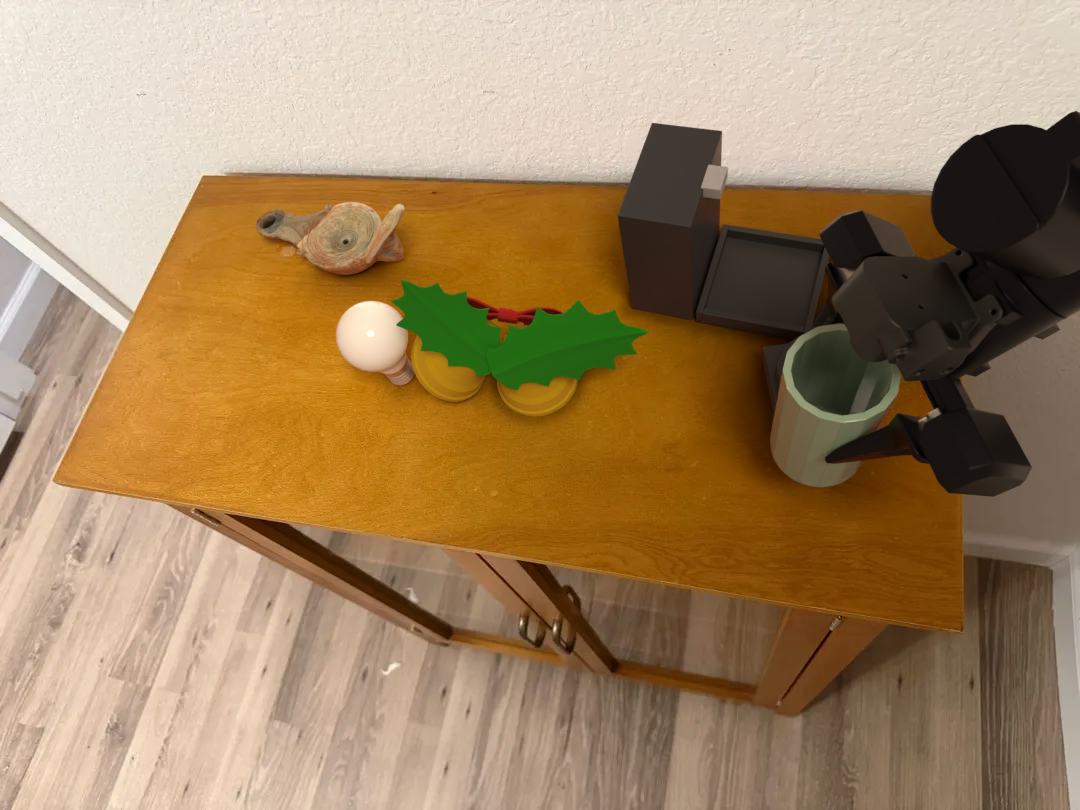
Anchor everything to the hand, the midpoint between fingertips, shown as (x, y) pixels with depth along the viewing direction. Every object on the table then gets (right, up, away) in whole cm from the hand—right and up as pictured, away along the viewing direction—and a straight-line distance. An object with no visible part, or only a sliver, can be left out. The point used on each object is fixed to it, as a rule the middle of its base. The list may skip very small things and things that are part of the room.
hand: (808, 413), depth 52 cm
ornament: (-18, +3, +21) cm, 28 cm away
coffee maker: (0, +12, +21) cm, 24 cm away
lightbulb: (-32, +3, +24) cm, 40 cm away
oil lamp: (-39, +17, +32) cm, 53 cm away
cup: (+3, -2, +6) cm, 7 cm away
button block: (+5, +2, +15) cm, 16 cm away
